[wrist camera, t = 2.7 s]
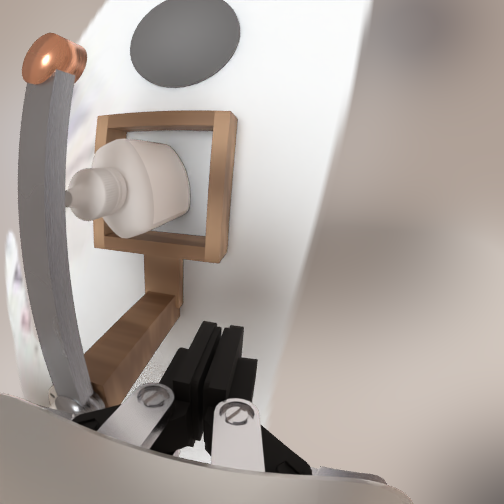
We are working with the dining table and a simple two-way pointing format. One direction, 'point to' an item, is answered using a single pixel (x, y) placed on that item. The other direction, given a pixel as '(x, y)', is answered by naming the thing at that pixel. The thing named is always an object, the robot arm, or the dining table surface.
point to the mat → (184, 41)
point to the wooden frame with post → (159, 252)
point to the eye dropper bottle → (131, 187)
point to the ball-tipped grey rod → (51, 216)
